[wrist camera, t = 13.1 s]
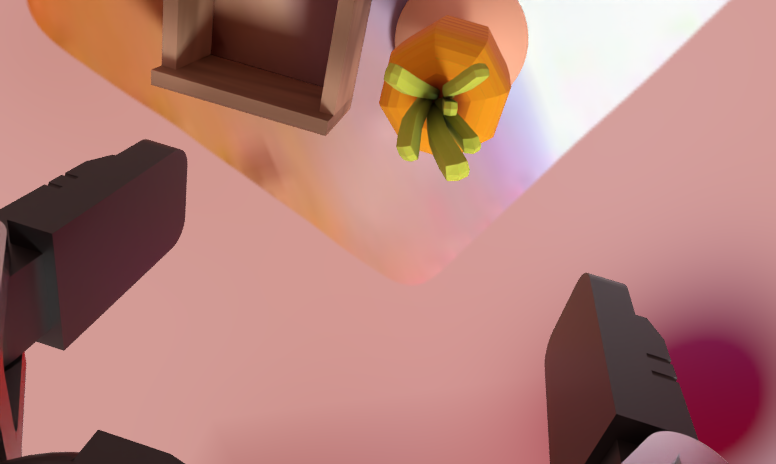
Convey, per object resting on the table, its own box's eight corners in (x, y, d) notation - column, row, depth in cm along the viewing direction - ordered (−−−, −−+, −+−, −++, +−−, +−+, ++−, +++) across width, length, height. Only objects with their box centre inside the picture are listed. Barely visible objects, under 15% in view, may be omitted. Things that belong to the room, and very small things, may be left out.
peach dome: (414, -46, 29) (412, -45, 28) (548, -9, 29) (548, -8, 28) (384, 87, 32) (382, 89, 32) (502, 121, 32) (502, 124, 32)
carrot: (410, 1, 29) (332, 63, 16) (507, -13, 28) (507, 42, 15) (421, 95, 32) (361, 216, 19) (512, 86, 30) (516, 208, 18)
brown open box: (207, -120, 29) (153, -128, 25) (386, -72, 29) (363, -71, 24) (197, 64, 34) (151, 84, 30) (349, 108, 33) (325, 136, 29)
